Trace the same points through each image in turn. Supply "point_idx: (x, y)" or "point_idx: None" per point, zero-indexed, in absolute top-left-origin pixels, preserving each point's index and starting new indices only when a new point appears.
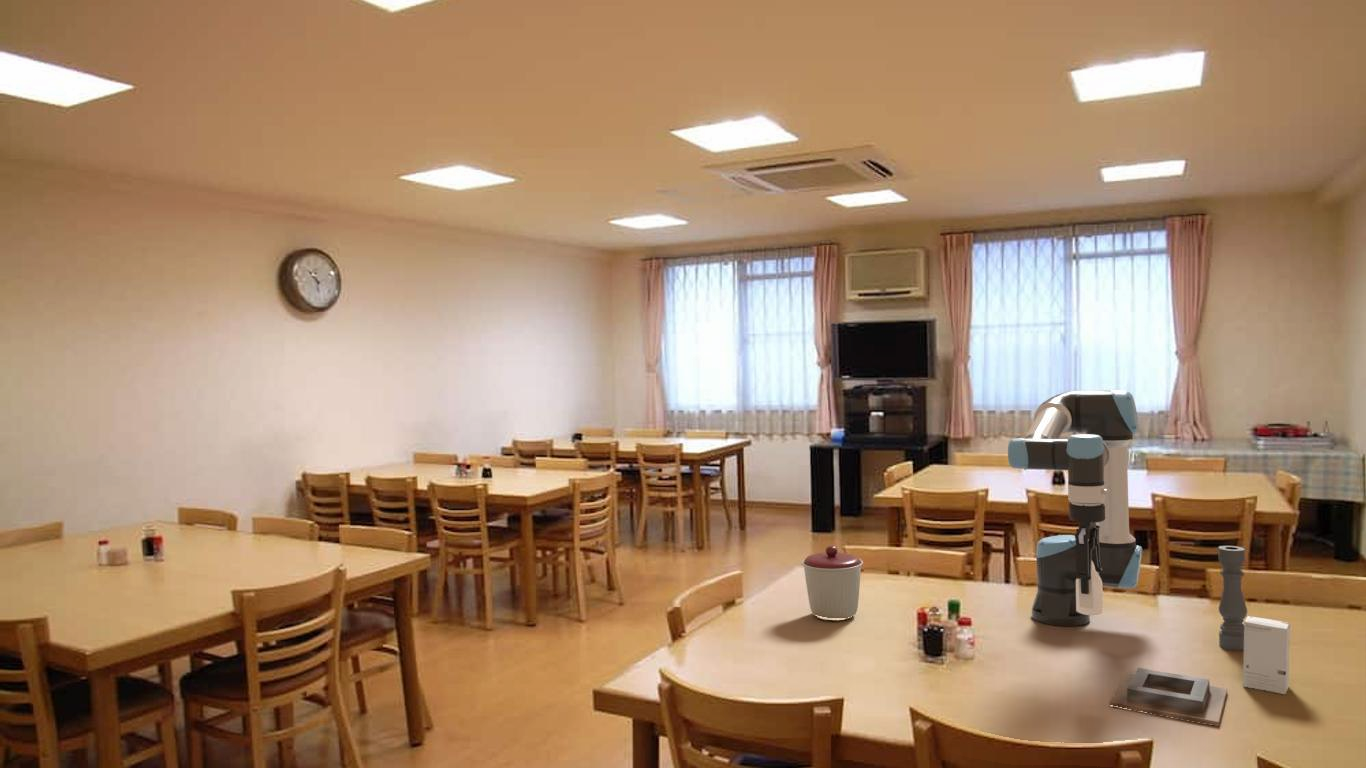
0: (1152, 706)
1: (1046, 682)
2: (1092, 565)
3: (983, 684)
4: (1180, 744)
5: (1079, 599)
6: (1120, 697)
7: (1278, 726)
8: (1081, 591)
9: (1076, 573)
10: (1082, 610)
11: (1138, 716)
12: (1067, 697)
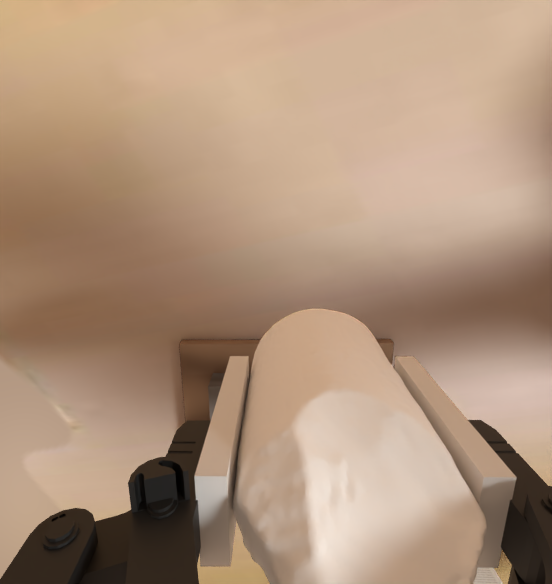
0: (204, 418)
1: (257, 179)
2: None
3: (148, 18)
4: (77, 468)
5: (224, 377)
6: (219, 359)
7: (252, 576)
8: (178, 432)
9: (13, 559)
10: (256, 354)
11: (163, 394)
12: (184, 249)
